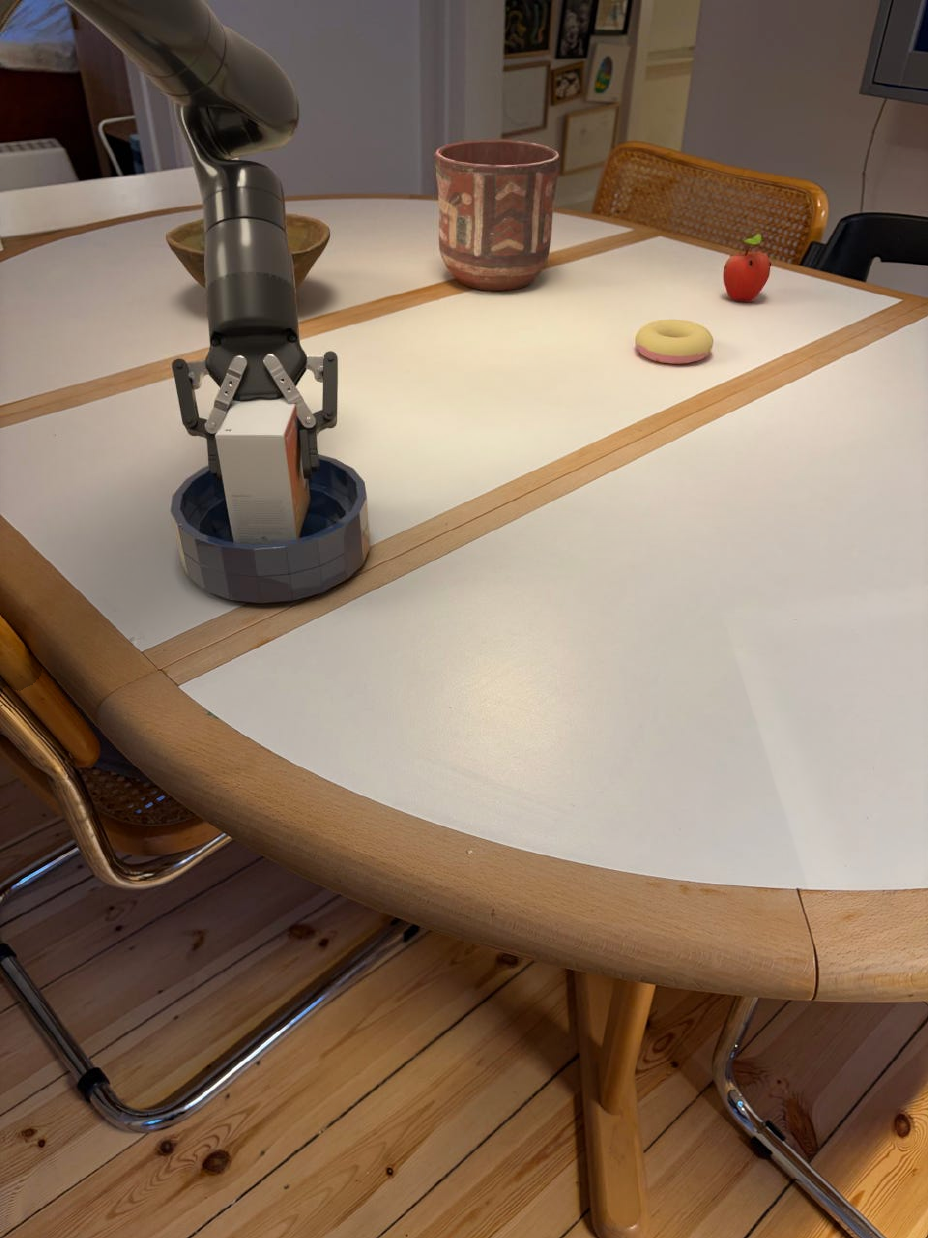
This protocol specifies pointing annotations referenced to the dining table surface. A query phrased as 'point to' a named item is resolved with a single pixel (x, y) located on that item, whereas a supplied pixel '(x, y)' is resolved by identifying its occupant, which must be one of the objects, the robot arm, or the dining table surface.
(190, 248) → the bowl
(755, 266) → the apple
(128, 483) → the dining table surface
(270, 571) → the glazed bowl
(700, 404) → the dining table surface
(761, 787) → the dining table surface
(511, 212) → the pottery
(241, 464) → the small box
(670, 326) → the donut
